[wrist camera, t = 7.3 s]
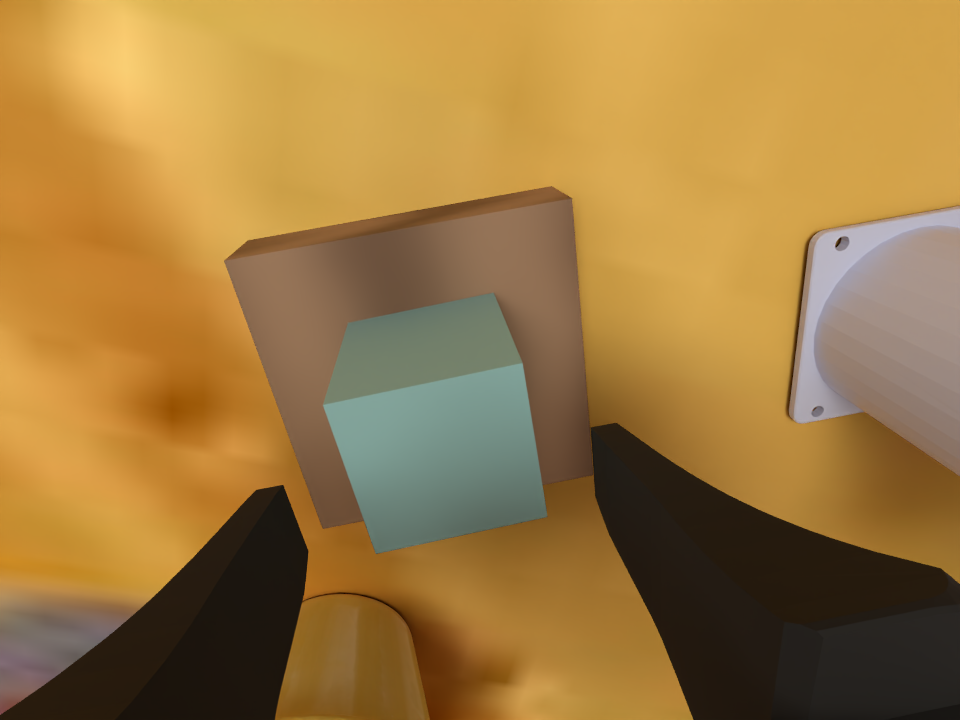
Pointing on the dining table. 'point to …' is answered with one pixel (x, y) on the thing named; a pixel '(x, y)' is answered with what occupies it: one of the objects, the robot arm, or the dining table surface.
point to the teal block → (435, 423)
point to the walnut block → (410, 285)
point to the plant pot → (351, 664)
